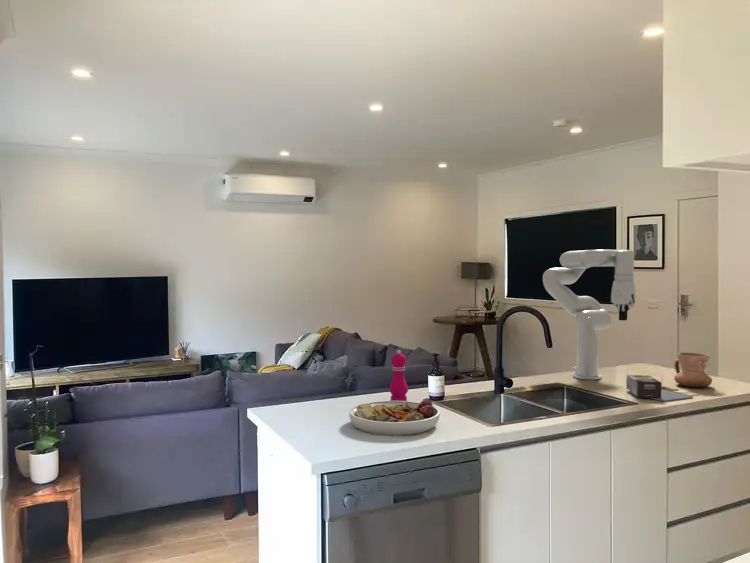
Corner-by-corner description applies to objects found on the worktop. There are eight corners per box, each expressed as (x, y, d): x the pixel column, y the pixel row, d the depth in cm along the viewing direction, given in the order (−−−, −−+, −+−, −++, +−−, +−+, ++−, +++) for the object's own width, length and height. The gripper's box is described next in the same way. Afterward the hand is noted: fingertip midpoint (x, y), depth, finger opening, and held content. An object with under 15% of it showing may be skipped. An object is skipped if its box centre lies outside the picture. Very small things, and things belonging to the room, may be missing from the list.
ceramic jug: (722, 389, 255) (722, 355, 255) (695, 390, 251) (695, 356, 251) (689, 382, 272) (689, 350, 272) (663, 383, 268) (663, 351, 268)
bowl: (370, 443, 180) (370, 417, 179) (336, 419, 207) (336, 397, 207) (456, 431, 192) (456, 407, 191) (413, 411, 219) (413, 389, 219)
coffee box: (649, 374, 250) (662, 382, 234) (648, 390, 251) (662, 398, 235) (626, 374, 252) (638, 381, 236) (625, 389, 252) (637, 397, 236)
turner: (648, 387, 259) (648, 384, 259) (657, 386, 261) (657, 383, 261) (689, 396, 241) (689, 393, 241) (698, 395, 243) (698, 392, 243)
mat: (627, 392, 247) (627, 391, 247) (655, 389, 254) (655, 388, 254) (664, 402, 231) (664, 400, 231) (693, 398, 238) (693, 396, 238)
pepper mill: (410, 399, 236) (410, 349, 236) (403, 403, 230) (403, 351, 229) (393, 398, 239) (393, 348, 239) (386, 401, 233) (386, 350, 232)
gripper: (604, 277, 267) (603, 318, 268) (630, 279, 253) (629, 322, 254) (618, 277, 270) (617, 318, 271) (644, 279, 256) (642, 321, 257)
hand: (622, 320), depth 262 cm, fingers closed
